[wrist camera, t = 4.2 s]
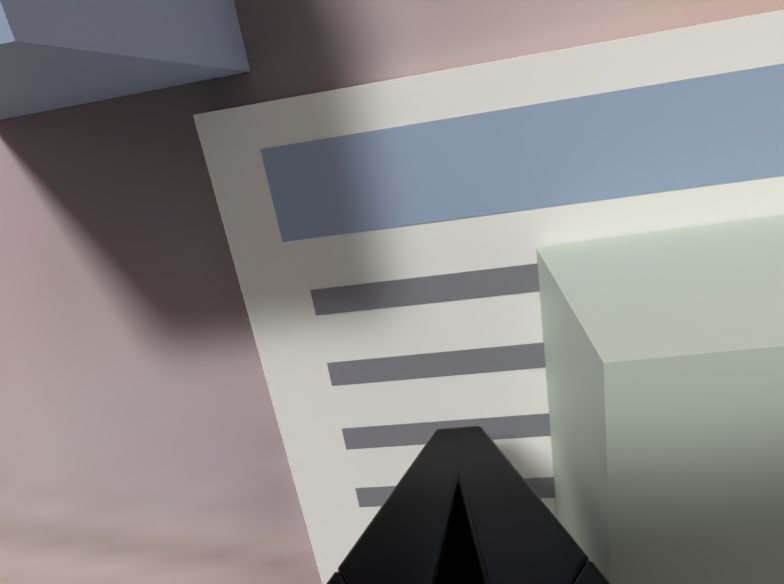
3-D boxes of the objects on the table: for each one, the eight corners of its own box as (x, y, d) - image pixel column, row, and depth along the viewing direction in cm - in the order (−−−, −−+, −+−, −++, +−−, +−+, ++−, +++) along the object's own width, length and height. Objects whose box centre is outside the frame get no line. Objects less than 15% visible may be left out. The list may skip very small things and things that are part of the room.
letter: (829, 611, 11) (840, 625, 11) (337, 619, 13) (335, 631, 12) (943, -19, 7) (965, -24, 7) (201, 114, 9) (192, 114, 8)
